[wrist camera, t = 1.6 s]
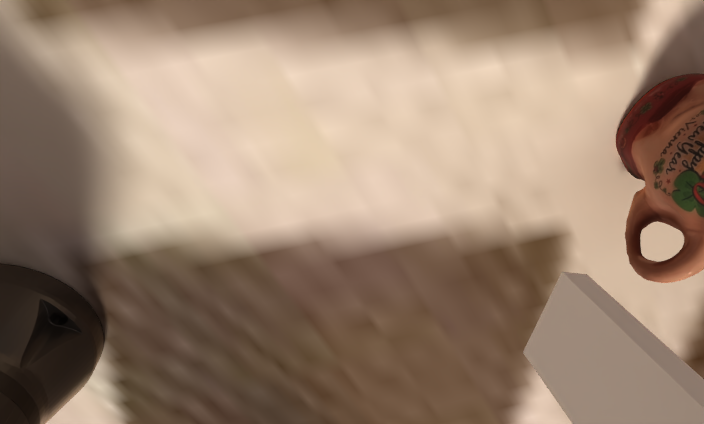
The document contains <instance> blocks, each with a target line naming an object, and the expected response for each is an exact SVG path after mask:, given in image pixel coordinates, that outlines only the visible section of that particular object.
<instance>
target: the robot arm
mask: <svg viewBox="0 0 704 424" xmlns="http://www.w3.org/2000/svg"><path fill="white" fill-rule="evenodd" d="M103 344H104V337H103V330H102V327H101V324H100V321H99V319H98V317H97V315H96V314H95V312H94V310H93V309H92V308H91V306H90V305H89V304H88V303H87V302H86V301H85V300H84V299H83V298H82V297H81V296H80V295H79V294H78V293H77V292H75V291H74V290H73V289H71V288H70V287H68V286H67V285H65V284H64V283H62V282H60V281H58V280H56V279H54V278H52V277H50V276H48V275H45V274H43V273H40V272H37V271H34V270H31V269H27V268H23V267H18V266H13V265H5V264H0V424H45V423H46V422H47V421H49V420H50V419H51V418H52V417H53V416H54V415H55V414H56V413H57V412H58V411H59V410H60V409H61V408H62V407H63V406H64V405H65V404H66V403H67V402H68V401H69V400H70V399H71V398H72V397H73V396H74V395H76V394H77V393H78V392H79V391H80V390H81V389H82V388H83V387H84V385H85V384H86V383H87V381H88V380H89V378H90V377H91V375H92V373H93V371H94V369H95V367H96V365H97V363H98V361H99V359H100V357H101V354H102V350H103ZM523 353H524V354H525V356H526V357H527V359H528V360H529V362H530V363H531V365H532V366H533V367H534V369H535V370H536V372H537V373H538V375H539V376H540V377H541V379H542V380H543V382H544V383H545V385H546V386H547V388H548V389H549V390H550V392H551V393H552V395H553V396H554V398H555V399H556V400H557V402H558V403H559V405H560V406H561V408H562V409H563V411H564V412H565V413H566V415H567V416H568V418H569V419H570V421H571V422H572V423H573V424H704V379H703V378H702V377H701V376H699V375H698V374H697V373H696V372H695V371H694V370H693V369H692V368H691V367H689V366H688V365H687V364H686V363H685V362H684V361H683V360H682V359H681V358H679V357H678V356H677V355H676V354H675V353H674V352H673V351H672V350H670V349H669V348H668V347H667V346H666V345H665V344H664V343H663V342H662V341H660V340H659V339H658V338H657V337H656V336H655V335H654V334H653V333H652V332H650V331H649V330H648V329H647V328H646V327H645V326H644V325H643V324H641V323H640V322H639V321H638V320H637V319H636V318H635V317H634V316H633V315H631V314H630V313H629V312H628V311H627V310H626V309H625V308H624V307H623V306H621V305H620V304H619V303H618V302H617V301H616V300H615V299H614V298H613V297H611V296H610V295H609V294H608V293H607V292H606V291H605V290H604V289H602V288H601V287H600V286H599V285H598V284H597V283H596V282H595V281H594V280H592V279H591V278H590V277H589V276H588V275H587V274H578V273H568V272H562V273H561V275H560V277H559V279H558V281H557V283H556V285H555V287H554V290H553V292H552V294H551V296H550V298H549V300H548V302H547V304H546V306H545V308H544V310H543V312H542V314H541V316H540V318H539V321H538V323H537V325H536V327H535V329H534V331H533V333H532V335H531V337H530V339H529V341H528V343H527V345H526V347H525V349H524V352H523Z"/></svg>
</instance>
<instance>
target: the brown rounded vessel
mask: <svg viewBox="0 0 704 424" xmlns="http://www.w3.org/2000/svg"><path fill="white" fill-rule="evenodd" d="M616 147H617V151H618V153H619V155H620V157H621V159H622V161H623V163H624V165H625V167H626V169H627V170H628V172H629V173H630V174H631V175H632V176H634V177H635V178H637V179H641V180H644V181H645V185H646V186H645V187H644V188H643V189H642V190H640V191H638V192H636V193H635V195H634V198H633V201H632V205H631V208H630V211H629V214H628V218H627V224H626V232H625V238H626V245H627V254H628V256H629V262H630V264H631V265H632V267H633V268H634V270H635V271H636V272H637V273H638V274H639V275H640V276H642V277H643V278H644V279H647V280H650V281H655V282H661V283H668V282H675V281H680V280H683V279H686V278H688V277H690V276H693V275H695V274H697V273H699V272H700V271H702V270H703V269H704V74H686V75H681V76H677V77H674V78H671V79H668V80H666V81H664V82H662V83H660V84H658V85H657V86H655V87H654V88H652V89H651V90H650V91H649V92H648V93H646V94H645V95H644V96H643V97H642V98H641V99H640V100H639V101H638V102H637V103H636V104H635V105H634V107H633V108H632V109H631V110H630V112H629V113H628V115H627V116H626V118H625V119H624V121H623V122H622V124H621V126H620V128H619V130H618V133H617V137H616ZM656 221H659V222H663V223H666V224H668V225H670V226H672V227H674V228H676V229H678V230H680V231H681V232H682V233H683V235H684V245H683V248H682V249H681V250H680V251H679V253H678V254H676V255H675V256H673V257H672V258H670V259H668V260H665V261H662V262H656V261H651V260H648V259H646V258H644V257H643V256H642V254H641V248H640V234H641V231H642V229H643V228H645V227H646V226H647V225H649V224H650V223H652V222H656Z"/></svg>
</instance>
